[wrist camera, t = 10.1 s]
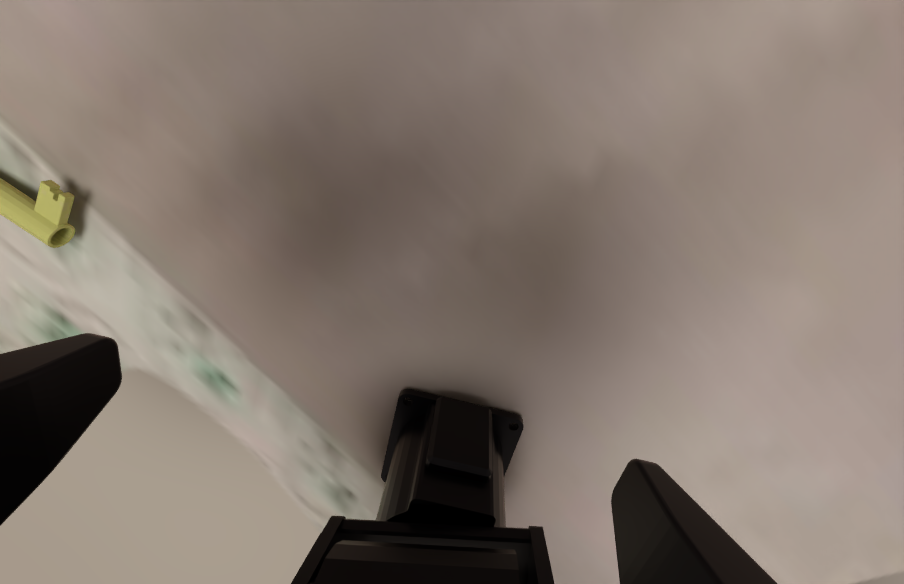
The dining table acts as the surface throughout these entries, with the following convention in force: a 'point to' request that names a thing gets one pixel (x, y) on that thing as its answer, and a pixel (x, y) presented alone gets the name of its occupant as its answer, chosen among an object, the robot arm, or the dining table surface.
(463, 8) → the dining table surface
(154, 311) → the dining table surface
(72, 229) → the key
